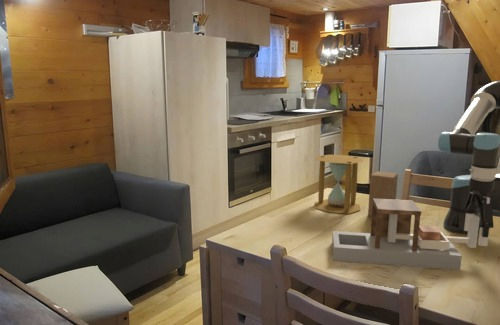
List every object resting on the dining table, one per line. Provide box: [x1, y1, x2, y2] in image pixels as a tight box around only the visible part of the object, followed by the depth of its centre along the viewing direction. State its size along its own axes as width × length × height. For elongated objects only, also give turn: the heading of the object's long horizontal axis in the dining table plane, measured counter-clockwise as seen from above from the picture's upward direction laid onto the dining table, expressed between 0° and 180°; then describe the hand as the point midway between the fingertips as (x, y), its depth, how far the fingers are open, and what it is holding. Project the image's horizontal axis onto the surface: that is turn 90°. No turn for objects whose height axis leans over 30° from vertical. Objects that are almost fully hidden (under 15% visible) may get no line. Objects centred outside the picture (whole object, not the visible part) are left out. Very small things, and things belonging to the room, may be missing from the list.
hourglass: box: [314, 154, 364, 215], centre depth 206 cm, size 24×22×25 cm
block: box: [419, 225, 442, 241], centre depth 148 cm, size 6×6×6 cm
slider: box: [387, 214, 480, 250], centre depth 147 cm, size 29×10×11 cm, turn 81°
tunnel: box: [370, 198, 422, 251], centre depth 149 cm, size 14×14×14 cm
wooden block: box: [367, 170, 399, 218], centre depth 193 cm, size 10×10×20 cm
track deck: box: [331, 230, 463, 271], centre depth 151 cm, size 42×16×5 cm, turn 81°
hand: (475, 237), depth 145 cm, fingers open, 13 cm apart
